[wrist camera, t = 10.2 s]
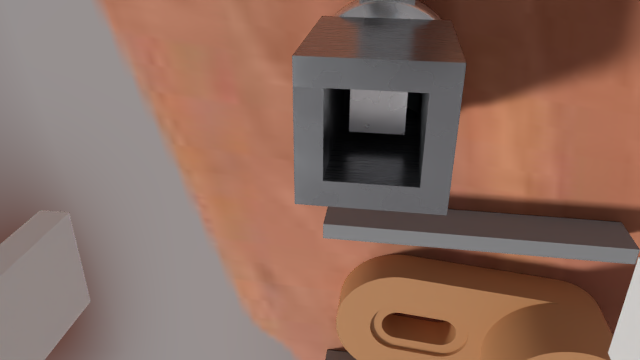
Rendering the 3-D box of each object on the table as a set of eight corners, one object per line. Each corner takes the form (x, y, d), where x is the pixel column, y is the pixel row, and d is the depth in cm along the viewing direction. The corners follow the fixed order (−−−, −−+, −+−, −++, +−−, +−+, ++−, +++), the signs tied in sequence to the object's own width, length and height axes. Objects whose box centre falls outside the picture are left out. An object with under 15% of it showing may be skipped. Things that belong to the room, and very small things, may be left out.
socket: (321, 133, 31) (294, 203, 24) (321, 15, 28) (292, 55, 21) (437, 140, 30) (446, 215, 23) (451, 20, 27) (466, 63, 20)
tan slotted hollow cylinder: (619, 288, 36) (662, 367, 30) (579, 378, 40) (610, 465, 34) (347, 243, 38) (336, 310, 31) (334, 335, 41) (321, 410, 35)
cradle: (329, 200, 36) (323, 224, 33) (621, 222, 34) (639, 249, 31) (327, 359, 42) (321, 390, 40) (572, 387, 40) (583, 421, 37)
